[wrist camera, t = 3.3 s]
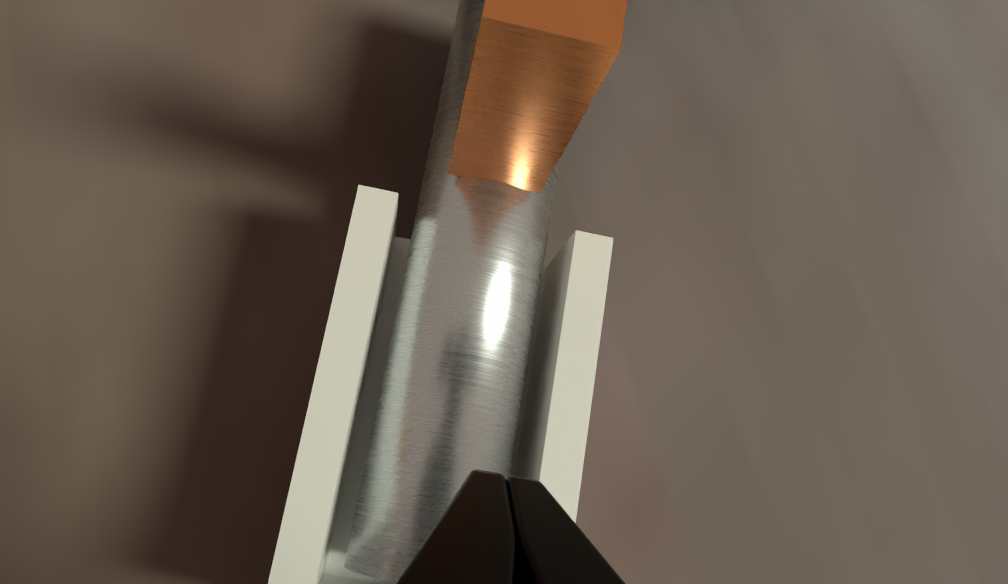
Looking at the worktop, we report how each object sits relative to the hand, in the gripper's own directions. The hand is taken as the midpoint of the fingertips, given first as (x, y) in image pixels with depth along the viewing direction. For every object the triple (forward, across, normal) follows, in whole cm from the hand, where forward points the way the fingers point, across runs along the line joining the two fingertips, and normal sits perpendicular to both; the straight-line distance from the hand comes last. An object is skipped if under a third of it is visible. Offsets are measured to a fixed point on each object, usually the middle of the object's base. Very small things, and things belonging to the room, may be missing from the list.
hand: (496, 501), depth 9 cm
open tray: (+11, 0, -8) cm, 14 cm away
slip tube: (+13, 0, -4) cm, 14 cm away
